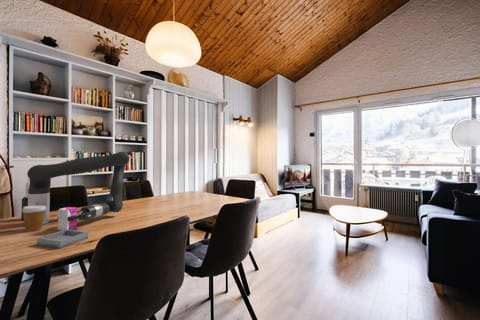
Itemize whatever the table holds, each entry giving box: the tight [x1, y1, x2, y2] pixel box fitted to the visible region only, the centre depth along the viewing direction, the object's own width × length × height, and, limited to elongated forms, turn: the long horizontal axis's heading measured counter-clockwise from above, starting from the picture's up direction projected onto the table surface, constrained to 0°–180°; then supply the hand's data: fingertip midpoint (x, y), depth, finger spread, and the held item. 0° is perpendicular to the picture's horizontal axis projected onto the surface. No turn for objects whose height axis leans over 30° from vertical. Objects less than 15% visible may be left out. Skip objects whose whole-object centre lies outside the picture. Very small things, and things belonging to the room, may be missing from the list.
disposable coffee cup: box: [21, 205, 46, 233], centre depth 118 cm, size 10×10×12 cm
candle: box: [20, 177, 30, 221], centre depth 137 cm, size 5×5×25 cm
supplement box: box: [57, 206, 78, 232], centre depth 119 cm, size 6×6×12 cm
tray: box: [36, 229, 89, 249], centre depth 103 cm, size 13×13×3 cm
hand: (63, 218), depth 117 cm, fingers closed on supplement box, 6 cm apart
